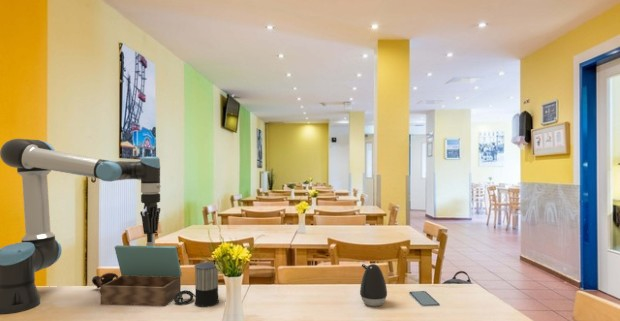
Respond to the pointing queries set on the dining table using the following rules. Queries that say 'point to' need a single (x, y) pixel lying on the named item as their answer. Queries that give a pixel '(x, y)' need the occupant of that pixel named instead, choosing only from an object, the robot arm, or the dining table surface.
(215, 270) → the milk frother
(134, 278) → the storage box
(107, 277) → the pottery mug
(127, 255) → the lid
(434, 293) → the dining table surface
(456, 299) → the dining table surface
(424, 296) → the smartphone
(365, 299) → the pump dispenser
